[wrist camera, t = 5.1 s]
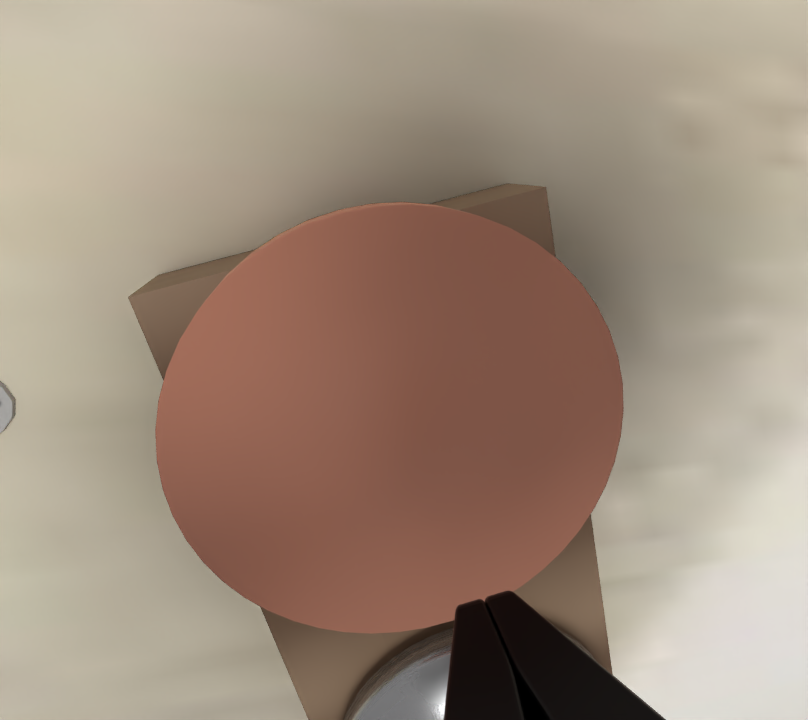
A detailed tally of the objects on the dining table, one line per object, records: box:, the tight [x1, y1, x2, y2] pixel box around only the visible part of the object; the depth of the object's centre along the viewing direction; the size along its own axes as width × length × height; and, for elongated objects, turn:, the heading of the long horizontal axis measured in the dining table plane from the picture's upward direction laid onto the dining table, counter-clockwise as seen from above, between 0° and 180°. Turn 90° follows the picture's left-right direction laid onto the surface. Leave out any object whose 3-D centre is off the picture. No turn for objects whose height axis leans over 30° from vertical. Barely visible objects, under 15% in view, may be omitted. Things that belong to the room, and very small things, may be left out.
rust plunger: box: [155, 202, 623, 634], centre depth 14 cm, size 10×10×4 cm
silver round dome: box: [344, 628, 596, 720], centre depth 21 cm, size 10×10×4 cm
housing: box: [128, 184, 612, 720], centre depth 20 cm, size 22×11×3 cm, turn 13°
